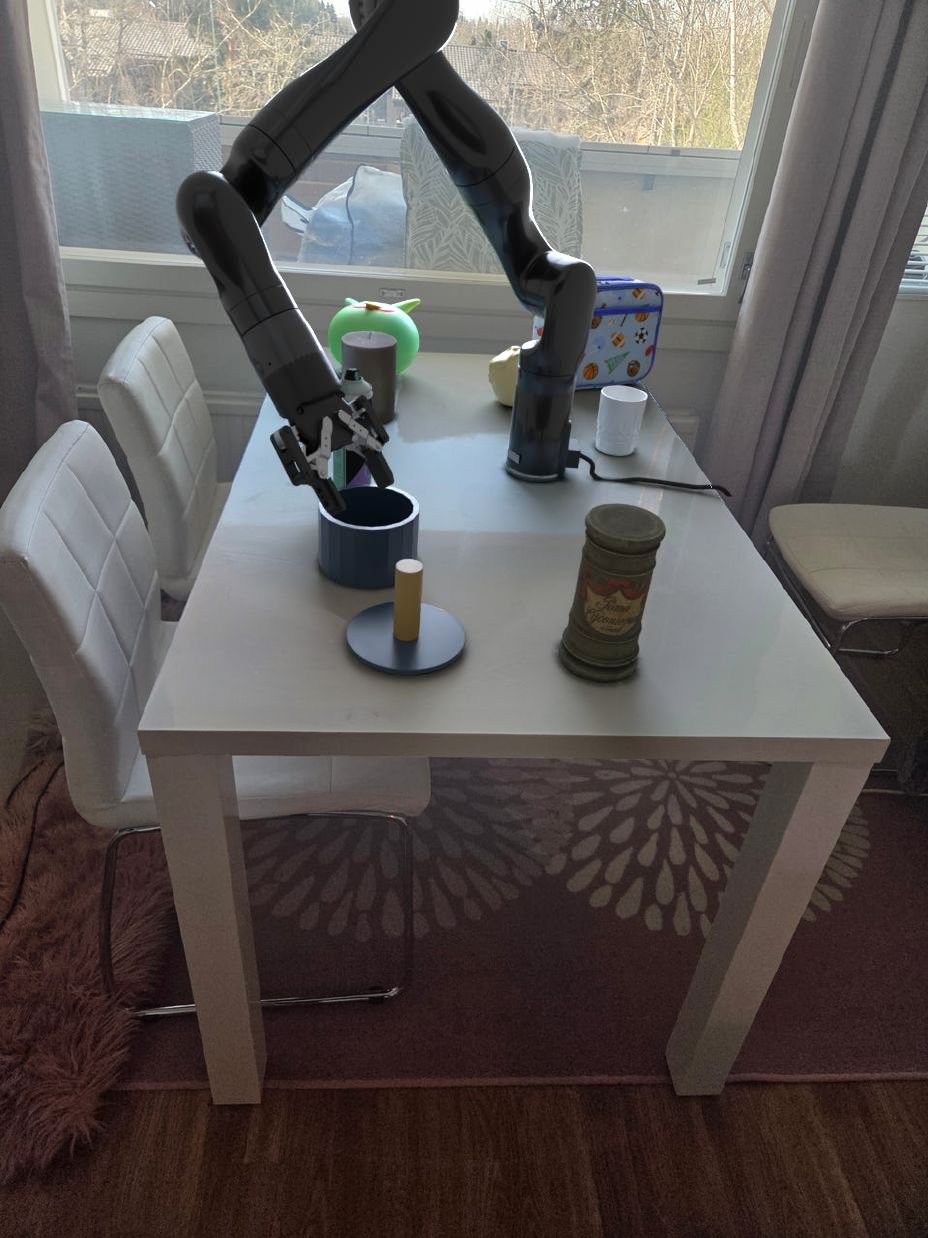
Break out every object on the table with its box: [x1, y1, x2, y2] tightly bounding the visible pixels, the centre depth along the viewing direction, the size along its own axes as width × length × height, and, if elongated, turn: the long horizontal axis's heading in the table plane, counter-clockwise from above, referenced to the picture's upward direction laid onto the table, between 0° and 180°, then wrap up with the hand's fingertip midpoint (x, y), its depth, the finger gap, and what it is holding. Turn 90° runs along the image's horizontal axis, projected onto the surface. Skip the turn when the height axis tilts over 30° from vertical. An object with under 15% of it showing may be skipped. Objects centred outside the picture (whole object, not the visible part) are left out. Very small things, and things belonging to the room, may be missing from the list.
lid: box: [345, 559, 466, 675], centre depth 96 cm, size 14×14×10 cm
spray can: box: [332, 367, 373, 488], centre depth 121 cm, size 6×6×20 cm
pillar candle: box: [341, 331, 397, 424], centre depth 151 cm, size 10×10×15 cm
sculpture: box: [487, 345, 521, 407], centre depth 164 cm, size 12×12×11 cm
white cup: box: [595, 385, 649, 457], centre depth 149 cm, size 8×8×10 cm
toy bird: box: [327, 297, 421, 375], centre depth 170 cm, size 18×17×15 cm
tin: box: [317, 483, 421, 590], centre depth 110 cm, size 13×13×8 cm
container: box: [558, 502, 667, 683], centre depth 94 cm, size 9×9×18 cm
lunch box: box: [531, 275, 665, 391], centre depth 173 cm, size 28×10×22 cm, turn 115°
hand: (364, 499), depth 95 cm, fingers open, 8 cm apart
